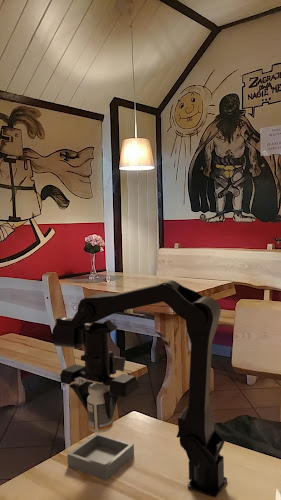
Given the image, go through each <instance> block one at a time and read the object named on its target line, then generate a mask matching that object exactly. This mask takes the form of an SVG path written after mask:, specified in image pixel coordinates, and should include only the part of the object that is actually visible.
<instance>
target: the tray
mask: <svg viewBox="0 0 281 500" xmlns="http://www.w3.org/2000/svg"><path fill="white" fill-rule="evenodd" d="M134 457H135V444H134V443H131V442H128V441H124V440H121V439H117V438H115V437H111V436H108V435H104V434H102V433H97V432H95V434H94V435H92V436H91V437H89V438H88V439H86V440H85V441H84V442H82V443H81V444H79V445H78V446H76V447H75V448H73V450H71V451H70V452H68V453H67V467H68V468H71V469H73V470H77V471H79V472H82V473H85V474H88V475H89V476H93V477H95V478H98V479H101V480H103V481H106V482H107V481H108V480H109V479H110V478H111V477H112V476H114V475H115V474H116V473H117V472H118V471H119V470H121V468H122V467H124V466H125V465H126V464H127V463H128V462H130V461H131V460H132V459H133V458H134Z"/></svg>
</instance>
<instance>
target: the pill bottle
mask: <svg viewBox="0 0 281 500" xmlns="http://www.w3.org/2000/svg"><path fill="white" fill-rule="evenodd" d="M107 391H109V386H107V385H103V384H98V383H93V384H91V385H90V386H89V387H88V392H89V394H90V395H89V396H88V398H87V408H88V413H87V421H88V422H87V424H88V429H89V430H90V431H91V432H93V433H99V434H102V433H105V432H108V431H110V430H111V429H112V428H113V426H114V421H113V420H114V419H113V417H114V416H113V417H112V418H111V419H109V418H108V415H107V411H106V406H105V401H104V396H103V394H104V393H106V392H107Z"/></svg>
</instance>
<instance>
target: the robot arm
mask: <svg viewBox="0 0 281 500" xmlns="http://www.w3.org/2000/svg"><path fill="white" fill-rule="evenodd" d="M162 302H163V303H164V304H166V305H168V307H170V309H171V310H172V311H173V312H174V313H175V314H176V315H177V316H179V317H180V318H181V319H183V320H184V321H185V327H186V334H187V336H188V339H189V342H190V359H189V360H190V361H189V363H190V364H189V380H188V381H189V382H188V384H189V385H188V404H187V405H188V406H186V407H185V408H184V409H183V411H182V412H181V414H180V415H179V416H178V418H177V425H178V426H177V427H178V432H177V434H176V438H179V444H180V448H182V449H183V450H184V452H185V453H186V456H187V459H188V479H189V482H188V483H187V489H188V488H189V489H190V490H194V491H197V492H200V493H202V494H203V493H204V494H206V495H209V496H211V497H217V496H218V495H219V494H220V492H221V491H222V489H223V487H224V486H225V484H226V483H228V482H227V481H228V477H225V469H224V468H225V466H224V465H225V464H224V463H225V462H224V461H225V460H224V456H223V455H221V454H220V453H221V451H222V449H223V448H224V445H225V442H226V440H225V439H224V438H223V437H222V436H221V434H220V433H219V432H218V431H217V430H216V429H215V425H214V416H213V414H212V411H211V407H210V394H211V393H210V389H211V371H212V368H211V367H212V354H213V353H212V352H213V351H212V349H213V340H214V337H215V335H216V332H217V329H218V325H219V321H220V318H221V317H220V316H221V312H222V311H221V306H220V304H219V302H218V301H216V299H214V298H213V297H210V296H204V295H202V294H201V293H199V292H197V291H195V290H193V289H190V288H188V287H185V286H184V285H182V284H180V283H178V282H177V281H175V280H172V279H171V280H169V279H168V280H166V281H164V282H161V283H157V284H153V285H148V286H144V287H141V288H137V289H132V290H126V291H124V292H97V293H95V294H92V295H89V296H86V297H85V298H82V299H81V300H79V303H78V306H77V311H76V313H75V315H74V316H73V318H69V317H64V316H60V317H58V318H56V319H55V325H54V326H53V328H52V333H51V334H50V337H51V342H52V344H53V345H54V346H55V347H60V348H61V347H62V348H70V349H71V348H72V349H79V348H81V346H82V345H83V351H84V352H83V354H82V355H80V361H83V362H84V365H79V364H77V363H75V364H73V365H70V366H68V367H66V368H63V369H62V370H61V372H60V375H59V378H60V379H59V380H60V383H61V384H66V385H69V388H70V389H72V390H73V392H74V394H75V395H76V396H77V398H78V399H79V401H80V402H81V404H82V406H83V408H84V409H85V411H86V413H87V414H88V408H87V398H88V396H89V395H90V394H89V392H88V387H89V386H90V385H91V384H94V383H98V384H103V385H107V386H109V391H107V392H106V393H104V394H103V396H104V401H105V406H106V411H107V415H108V418H109V419H111V418H112V417H114V414H115V411H116V408H117V405H118V401H119V399H120V397H122V398H124V397H127V396H129V395H130V394H132V393H133V392H135V391H136V390H138V389H139V380H138V377H136V375H131V374H125V373H122V374H120V375H119V376H116V377H111V375H115V374H117V371H119V372H124V371H125V366H126V365H125V364H126V360H127V359H126V357H120V356H114V351H113V350H112V351H111V350H110V341H109V335H110V333H112V332H114V331H115V330H117V329H118V326H117V325H116V324H114V323H113V322H112V321H111V320H110V319H108V320H105V321H104V322H99V321H100V320H103V319H105V318H108V317H109V316H111V315H114V314H115V313H118V312H123V311H127V310H132V309H136V308H140V307H145V306H150V305H154V304H159V303H162Z"/></svg>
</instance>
